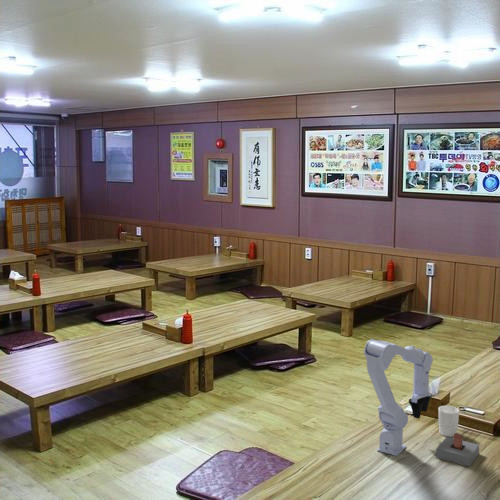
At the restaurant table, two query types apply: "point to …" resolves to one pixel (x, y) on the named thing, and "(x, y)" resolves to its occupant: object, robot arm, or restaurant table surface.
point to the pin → (458, 441)
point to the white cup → (448, 420)
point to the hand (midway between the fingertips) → (420, 414)
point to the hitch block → (457, 452)
